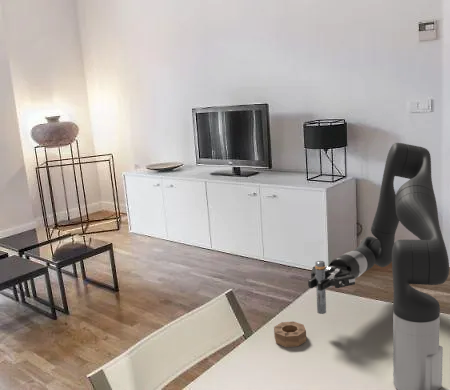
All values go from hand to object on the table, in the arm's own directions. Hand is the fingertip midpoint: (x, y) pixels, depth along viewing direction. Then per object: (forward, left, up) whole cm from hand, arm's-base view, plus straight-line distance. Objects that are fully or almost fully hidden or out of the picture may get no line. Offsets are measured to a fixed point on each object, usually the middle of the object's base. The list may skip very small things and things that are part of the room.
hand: (314, 285), depth 128 cm
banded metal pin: (0, -3, -8) cm, 9 cm away
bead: (+5, +5, -15) cm, 16 cm away
